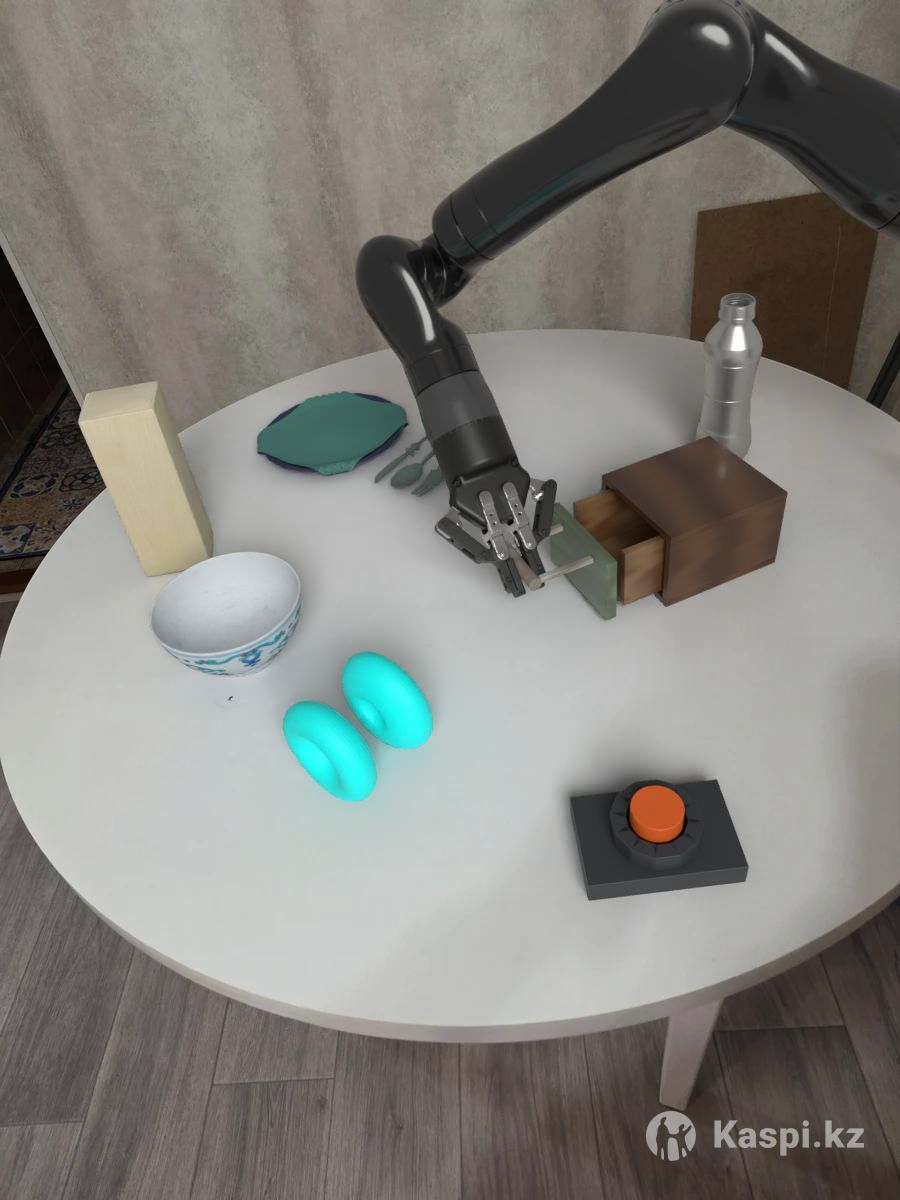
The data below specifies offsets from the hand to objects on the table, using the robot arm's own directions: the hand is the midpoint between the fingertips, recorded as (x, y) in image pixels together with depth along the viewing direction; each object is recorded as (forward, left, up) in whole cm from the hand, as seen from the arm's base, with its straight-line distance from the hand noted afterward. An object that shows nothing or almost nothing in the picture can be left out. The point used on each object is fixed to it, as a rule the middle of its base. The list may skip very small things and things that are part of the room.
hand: (529, 591), depth 85 cm
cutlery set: (+18, -39, -5) cm, 43 cm away
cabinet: (-18, -9, -5) cm, 21 cm away
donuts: (+17, +14, -5) cm, 23 cm away
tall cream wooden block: (+40, -21, -5) cm, 45 cm away
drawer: (-8, -5, -4) cm, 10 cm away
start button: (-6, +26, -1) cm, 27 cm away
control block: (-6, +26, -5) cm, 27 cm away
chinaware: (+30, -2, -5) cm, 30 cm away
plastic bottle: (-27, -26, -5) cm, 38 cm away
